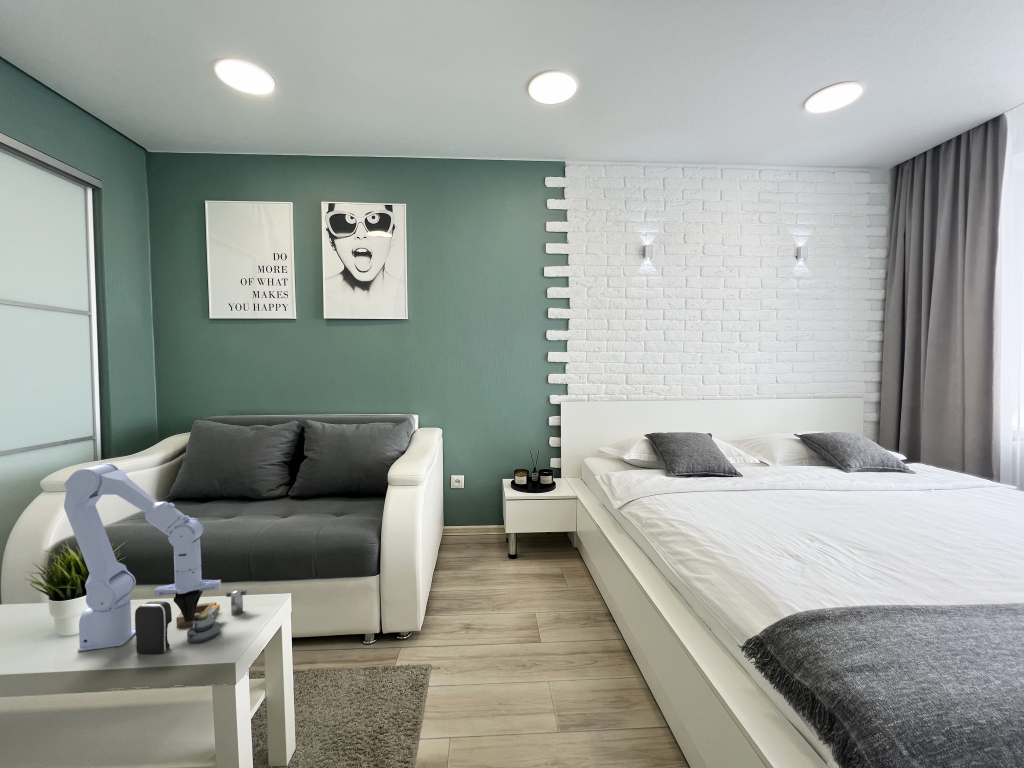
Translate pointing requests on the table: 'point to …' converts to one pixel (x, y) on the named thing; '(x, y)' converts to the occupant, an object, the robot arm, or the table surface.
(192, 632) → the base
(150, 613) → the battery charger
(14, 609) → the table surface
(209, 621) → the collar
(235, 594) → the key
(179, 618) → the holder
